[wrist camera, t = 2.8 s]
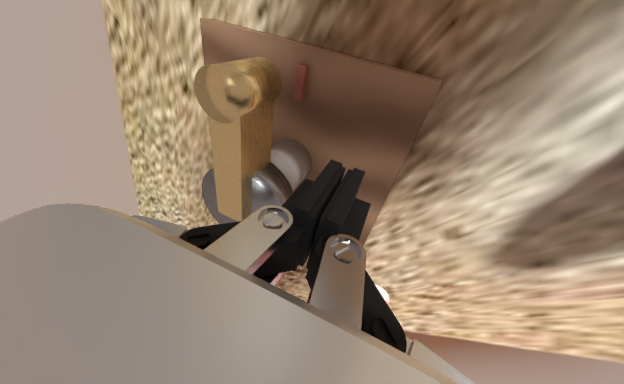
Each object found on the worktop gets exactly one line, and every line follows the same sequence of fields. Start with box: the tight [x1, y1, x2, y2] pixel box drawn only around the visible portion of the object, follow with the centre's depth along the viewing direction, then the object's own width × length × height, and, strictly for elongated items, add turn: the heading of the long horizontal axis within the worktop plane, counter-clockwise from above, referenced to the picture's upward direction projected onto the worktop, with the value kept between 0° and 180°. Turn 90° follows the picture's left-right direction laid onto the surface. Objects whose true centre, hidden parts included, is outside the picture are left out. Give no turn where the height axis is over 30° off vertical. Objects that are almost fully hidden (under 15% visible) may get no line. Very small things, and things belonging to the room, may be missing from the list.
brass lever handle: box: [194, 57, 293, 224], centre depth 16 cm, size 13×7×4 cm, turn 169°
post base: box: [200, 18, 442, 245], centre depth 23 cm, size 20×20×7 cm
